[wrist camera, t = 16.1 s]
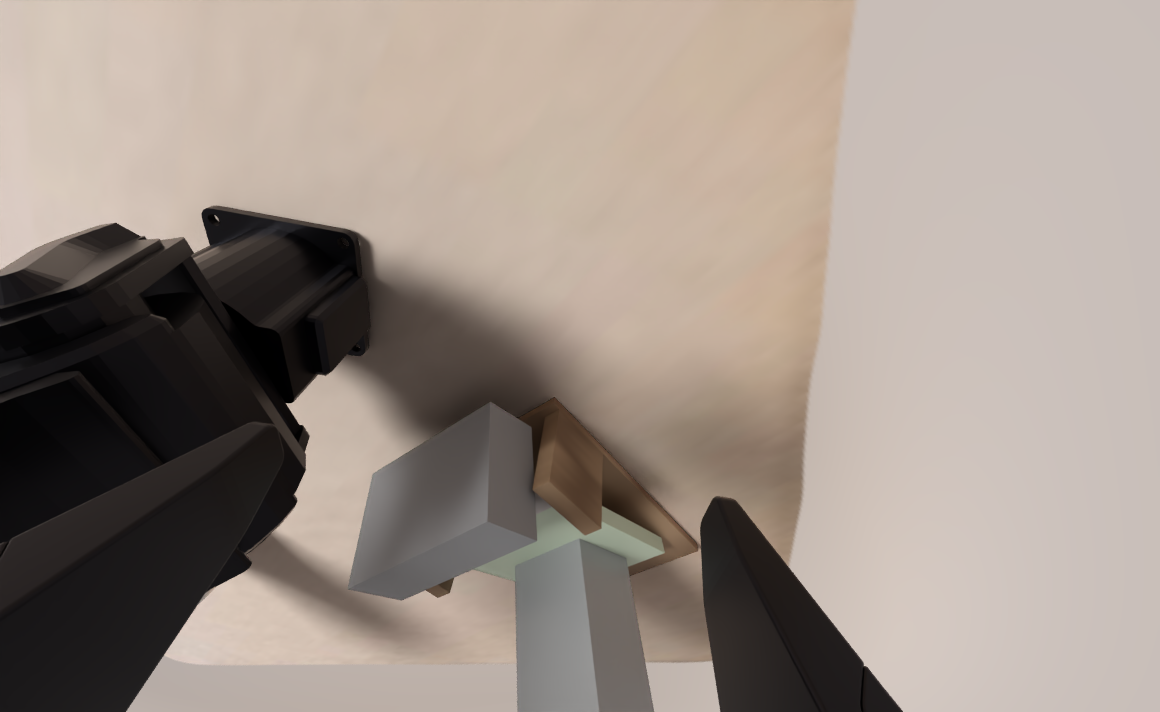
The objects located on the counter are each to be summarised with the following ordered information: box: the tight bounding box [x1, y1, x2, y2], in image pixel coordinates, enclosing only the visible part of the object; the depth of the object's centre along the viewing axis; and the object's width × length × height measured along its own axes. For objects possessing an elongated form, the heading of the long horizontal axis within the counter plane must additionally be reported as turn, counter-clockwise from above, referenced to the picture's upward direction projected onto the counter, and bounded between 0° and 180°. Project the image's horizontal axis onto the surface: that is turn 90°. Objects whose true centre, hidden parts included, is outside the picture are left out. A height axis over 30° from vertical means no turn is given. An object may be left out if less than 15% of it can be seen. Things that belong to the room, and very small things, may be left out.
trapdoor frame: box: [426, 397, 698, 598], centre depth 28 cm, size 16×12×6 cm
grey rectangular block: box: [515, 538, 654, 712], centre depth 25 cm, size 5×5×12 cm
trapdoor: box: [348, 402, 665, 600], centre depth 27 cm, size 16×9×6 cm, turn 38°
